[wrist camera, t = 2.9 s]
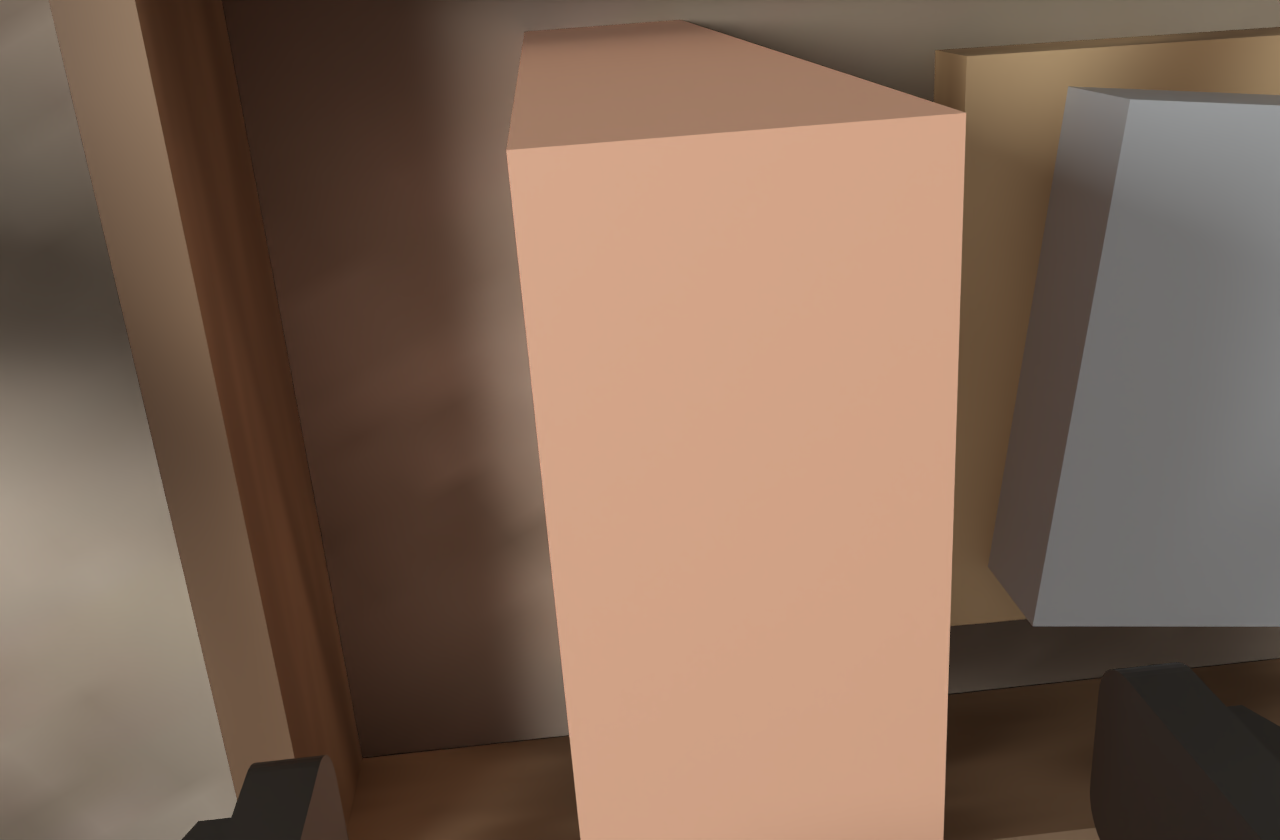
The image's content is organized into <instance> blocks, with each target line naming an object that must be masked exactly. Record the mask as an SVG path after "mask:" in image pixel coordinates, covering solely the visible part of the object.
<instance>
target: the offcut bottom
mask: <svg viewBox="0 0 1280 840" xmlns="http://www.w3.org/2000/svg"><path fill="white" fill-rule="evenodd" d="M1068 86H1071V87H1095V88H1120V89H1144V90H1168V91H1192V92H1217V93H1241V94H1265V95H1280V27H1274V28H1259V29H1244V30H1229V31H1214V32H1199V33H1184V34H1170V35H1155V36H1140V37H1125V38H1110V39H1095V40H1080V41H1066V42H1051V43H1036V44H1021V45H1006V46H991V47H976V48H962V49H947V50H935V79H934V102H935V103H938V104H941V105H944V106H947V107H950V108H953V109H956V110H959V111H962V112H965V113H966V136H965V167H964V199H963V231H962V263H961V295H960V327H959V359H958V390H957V422H956V454H955V486H954V518H953V550H952V581H951V613H950V626H958V625H969V624H979V623H990V622H1001V621H1011V620H1022V619H1027V618H1026V617H1025V616H1024V614H1023V613H1022V612H1021V610H1020V609H1019V608H1018V606H1017V605H1016V604H1015V602H1014V601H1013V600H1012V598H1011V597H1010V596H1009V594H1008V593H1007V592H1006V590H1005V589H1004V587H1003V586H1002V585H1001V583H1000V582H999V581H998V579H997V578H996V577H995V575H994V574H993V573H992V571H991V570H990V569H989V567H988V563H989V557H990V551H991V545H992V539H993V533H994V527H995V521H996V515H997V509H998V503H999V498H1000V492H1001V486H1002V480H1003V474H1004V468H1005V462H1006V456H1007V450H1008V444H1009V438H1010V432H1011V426H1012V420H1013V414H1014V408H1015V402H1016V396H1017V390H1018V384H1019V378H1020V372H1021V366H1022V360H1023V354H1024V348H1025V342H1026V336H1027V330H1028V324H1029V318H1030V312H1031V306H1032V300H1033V294H1034V288H1035V282H1036V276H1037V270H1038V264H1039V258H1040V252H1041V246H1042V240H1043V234H1044V228H1045V222H1046V216H1047V210H1048V204H1049V198H1050V192H1051V187H1052V181H1053V175H1054V169H1055V163H1056V157H1057V151H1058V145H1059V139H1060V133H1061V127H1062V121H1063V115H1064V109H1065V103H1066V97H1067V91H1068Z"/></svg>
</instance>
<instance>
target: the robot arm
mask: <svg viewBox="0 0 1280 840" xmlns="http://www.w3.org/2000/svg"><path fill="white" fill-rule="evenodd" d="M1090 803H1091V811H1092V816H1093V820H1094V824H1095V828H1096V831H1097V834H1098V836H1099V839H1100V840H1280V726H1278V725H1276V724H1275V723H1273V722H1271V721H1269V720H1268V719H1266V718H1264V717H1262V716H1261V715H1259V714H1257V713H1255V712H1254V711H1252V710H1250V709H1248V708H1247V707H1245V706H1243V705H1237V706H1228V707H1226V706H1225V704H1224V703H1223V702H1222V701H1221V700H1220V699H1219V698H1218V697H1217V696H1216V695H1215V694H1214V693H1213V692H1212V691H1211V690H1210V689H1209V688H1208V687H1207V685H1206V684H1205V683H1204V682H1203V681H1202V680H1201V679H1200V678H1199V677H1198V676H1197V675H1196V674H1195V673H1194V672H1193V671H1192V670H1191V669H1190V668H1189V667H1188V666H1186V665H1185V664H1183V663H1179V662H1176V663H1166V664H1158V665H1149V666H1140V667H1131V668H1122V669H1113V670H1108V671H1106V672H1105V674H1104V675H1103V677H1102V679H1101V682H1100V686H1099V693H1098V704H1097V715H1096V726H1095V737H1094V748H1093V759H1092V770H1091V781H1090ZM182 840H349V839H348V834H347V829H346V824H345V819H344V814H343V809H342V804H341V799H340V794H339V789H338V783H337V778H336V774H335V769H334V766H333V763H332V760H331V758H330V757H329V756H328V755H320V756H311V757H302V758H293V759H284V760H275V761H266V762H257V763H253V764H252V765H251V766H250V767H249V769H248V771H247V774H246V777H245V780H244V783H243V785H242V788H241V791H240V794H239V797H238V800H237V803H236V806H235V809H234V812H233V815H232V817H231V818H224V819H215V820H206V821H198V822H197V824H196V825H195V826H194V827H193V828H192V829H191V830H190V831H189V832H188V833H187V834H186V835H185V837H184V838H183V839H182Z"/></svg>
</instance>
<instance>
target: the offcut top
mask: <svg viewBox="0 0 1280 840" xmlns="http://www.w3.org/2000/svg"><path fill="white" fill-rule="evenodd" d="M988 567H989V569H990V570H991V571H992V573H993V574H994V575H995V577H996V578H997V579H998V581H999V582H1000V583H1001V585H1002V586H1003V587H1004V589H1005V590H1006V592H1007V593H1008V594H1009V596H1010V597H1011V598H1012V600H1013V601H1014V602H1015V604H1016V605H1017V606H1018V608H1019V609H1020V610H1021V612H1022V613H1023V614H1024V616H1025V617H1026V618H1027V620H1028V621H1029V622H1030V624H1031V625H1032V626H1166V627H1280V95H1265V94H1241V93H1217V92H1192V91H1168V90H1144V89H1120V88H1095V87H1071V86H1068V91H1067V97H1066V103H1065V109H1064V115H1063V121H1062V127H1061V133H1060V139H1059V145H1058V151H1057V157H1056V163H1055V169H1054V175H1053V181H1052V187H1051V192H1050V198H1049V204H1048V210H1047V216H1046V222H1045V228H1044V234H1043V240H1042V246H1041V252H1040V258H1039V264H1038V270H1037V276H1036V282H1035V288H1034V294H1033V300H1032V306H1031V312H1030V318H1029V324H1028V330H1027V336H1026V342H1025V348H1024V354H1023V360H1022V366H1021V372H1020V378H1019V384H1018V390H1017V396H1016V402H1015V408H1014V414H1013V420H1012V426H1011V432H1010V438H1009V444H1008V450H1007V456H1006V462H1005V468H1004V474H1003V480H1002V486H1001V492H1000V498H999V503H998V509H997V515H996V521H995V527H994V533H993V539H992V545H991V551H990V557H989V563H988Z"/></svg>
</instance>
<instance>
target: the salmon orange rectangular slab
mask: <svg viewBox="0 0 1280 840" xmlns="http://www.w3.org/2000/svg"><path fill="white" fill-rule="evenodd" d="M965 136H966V113H965V112H962V111H959V110H956V109H953V108H950V107H947V106H944V105H941V104H938V103H935V102H931V101H928V100H925V99H922V98H919V97H916V96H913V95H910V94H907V93H904V92H901V91H898V90H895V89H892V88H888V87H885V86H882V85H879V84H876V83H873V82H870V81H867V80H864V79H861V78H858V77H855V76H852V75H849V74H846V73H842V72H839V71H836V70H833V69H830V68H827V67H824V66H821V65H818V64H815V63H812V62H809V61H806V60H803V59H799V58H796V57H793V56H790V55H787V54H784V53H781V52H778V51H775V50H772V49H769V48H766V47H763V46H760V45H757V44H753V43H750V42H747V41H744V40H741V39H738V38H735V37H732V36H729V35H726V34H723V33H720V32H717V31H714V30H710V29H707V28H704V27H701V26H698V25H695V24H692V23H689V22H686V21H683V20H672V21H658V22H645V23H632V24H619V25H606V26H593V27H579V28H566V29H553V30H540V31H527V32H524V39H523V45H522V52H521V58H520V64H519V71H518V77H517V84H516V90H515V97H514V103H513V110H512V116H511V123H510V129H509V135H508V142H507V148H506V153H507V162H508V171H509V181H510V190H511V199H512V208H513V218H514V227H515V236H516V246H517V255H518V264H519V273H520V283H521V292H522V301H523V311H524V320H525V329H526V338H527V348H528V357H529V366H530V375H531V385H532V394H533V403H534V413H535V422H536V431H537V440H538V450H539V459H540V468H541V478H542V487H543V496H544V505H545V515H546V524H547V533H548V542H549V552H550V561H551V570H552V580H553V589H554V598H555V607H556V617H557V626H558V635H559V645H560V654H561V663H562V672H563V682H564V691H565V700H566V709H567V719H568V728H569V737H570V747H571V756H572V765H573V774H574V784H575V793H576V802H577V812H578V821H579V830H580V839H581V840H943V836H944V804H945V773H946V741H947V709H948V677H949V645H950V613H951V581H952V550H953V518H954V486H955V454H956V422H957V390H958V359H959V327H960V295H961V263H962V231H963V199H964V167H965Z"/></svg>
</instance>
